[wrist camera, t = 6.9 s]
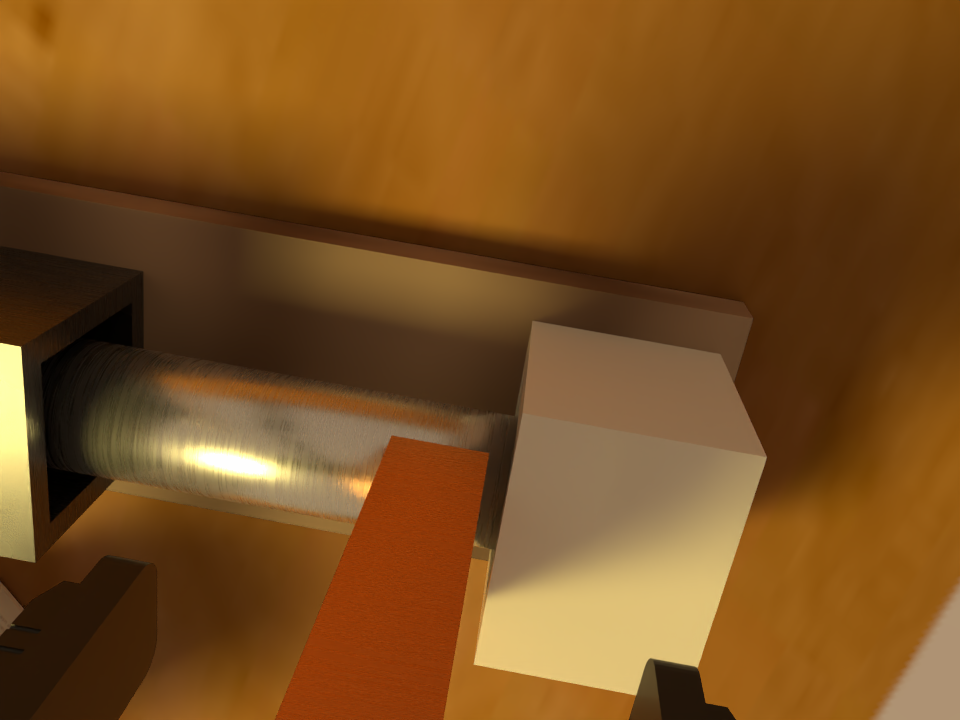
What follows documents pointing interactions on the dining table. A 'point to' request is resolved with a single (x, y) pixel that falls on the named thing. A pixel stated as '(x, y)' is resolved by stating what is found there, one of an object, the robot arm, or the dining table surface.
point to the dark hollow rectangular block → (18, 383)
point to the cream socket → (616, 509)
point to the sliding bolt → (310, 498)
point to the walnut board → (343, 304)
